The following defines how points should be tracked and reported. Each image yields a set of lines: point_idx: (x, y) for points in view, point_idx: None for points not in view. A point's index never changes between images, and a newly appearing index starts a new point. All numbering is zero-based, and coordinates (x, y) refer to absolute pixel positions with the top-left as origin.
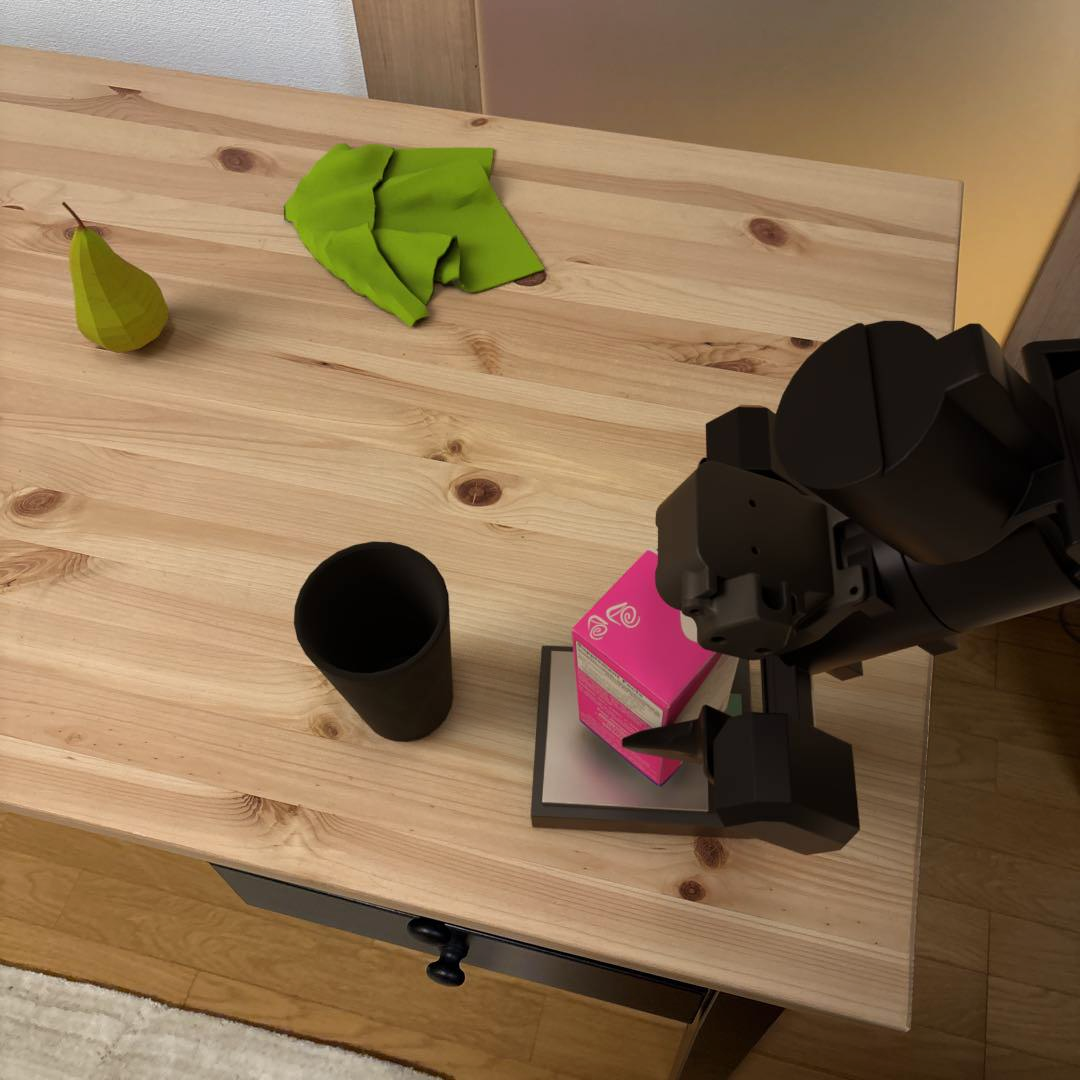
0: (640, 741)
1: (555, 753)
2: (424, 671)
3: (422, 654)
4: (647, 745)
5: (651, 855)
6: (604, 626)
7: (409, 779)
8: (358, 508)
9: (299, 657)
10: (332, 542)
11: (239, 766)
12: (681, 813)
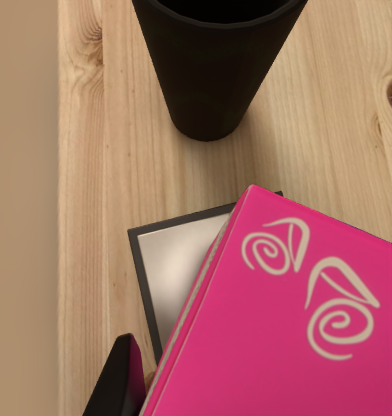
0: (105, 383)
1: (183, 233)
2: (175, 52)
3: (177, 19)
4: (90, 407)
5: (138, 336)
6: (286, 264)
7: (144, 131)
8: (347, 15)
9: None
10: (311, 8)
11: (119, 16)
12: None
